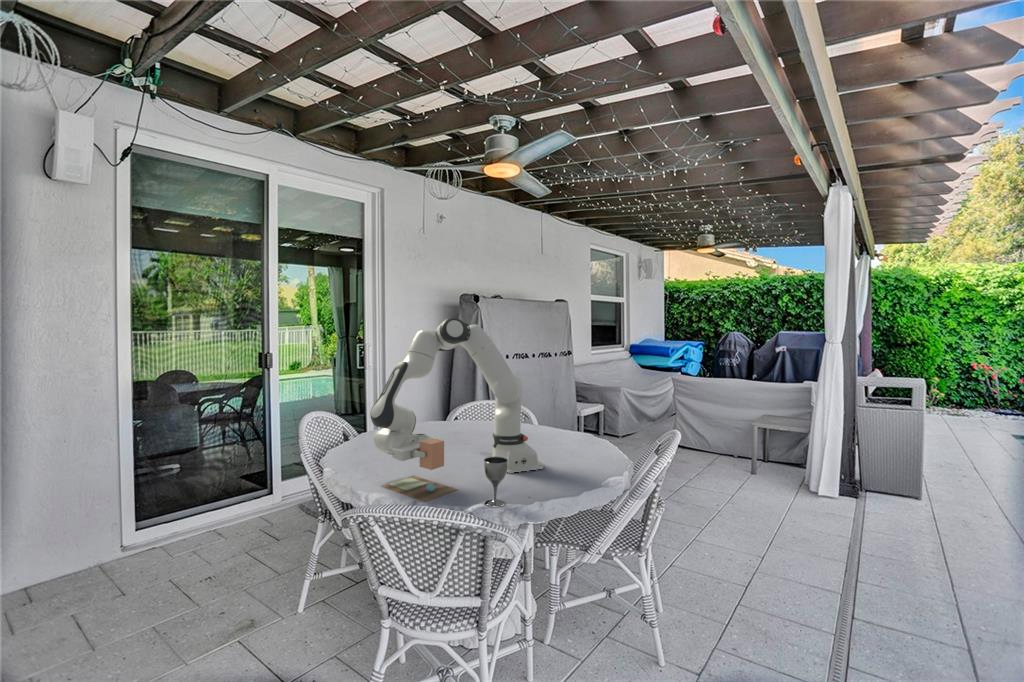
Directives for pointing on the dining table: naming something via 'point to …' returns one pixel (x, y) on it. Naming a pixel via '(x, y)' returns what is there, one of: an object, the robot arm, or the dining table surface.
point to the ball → (430, 487)
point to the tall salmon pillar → (432, 453)
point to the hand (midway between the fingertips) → (433, 452)
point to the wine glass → (495, 475)
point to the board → (418, 488)
